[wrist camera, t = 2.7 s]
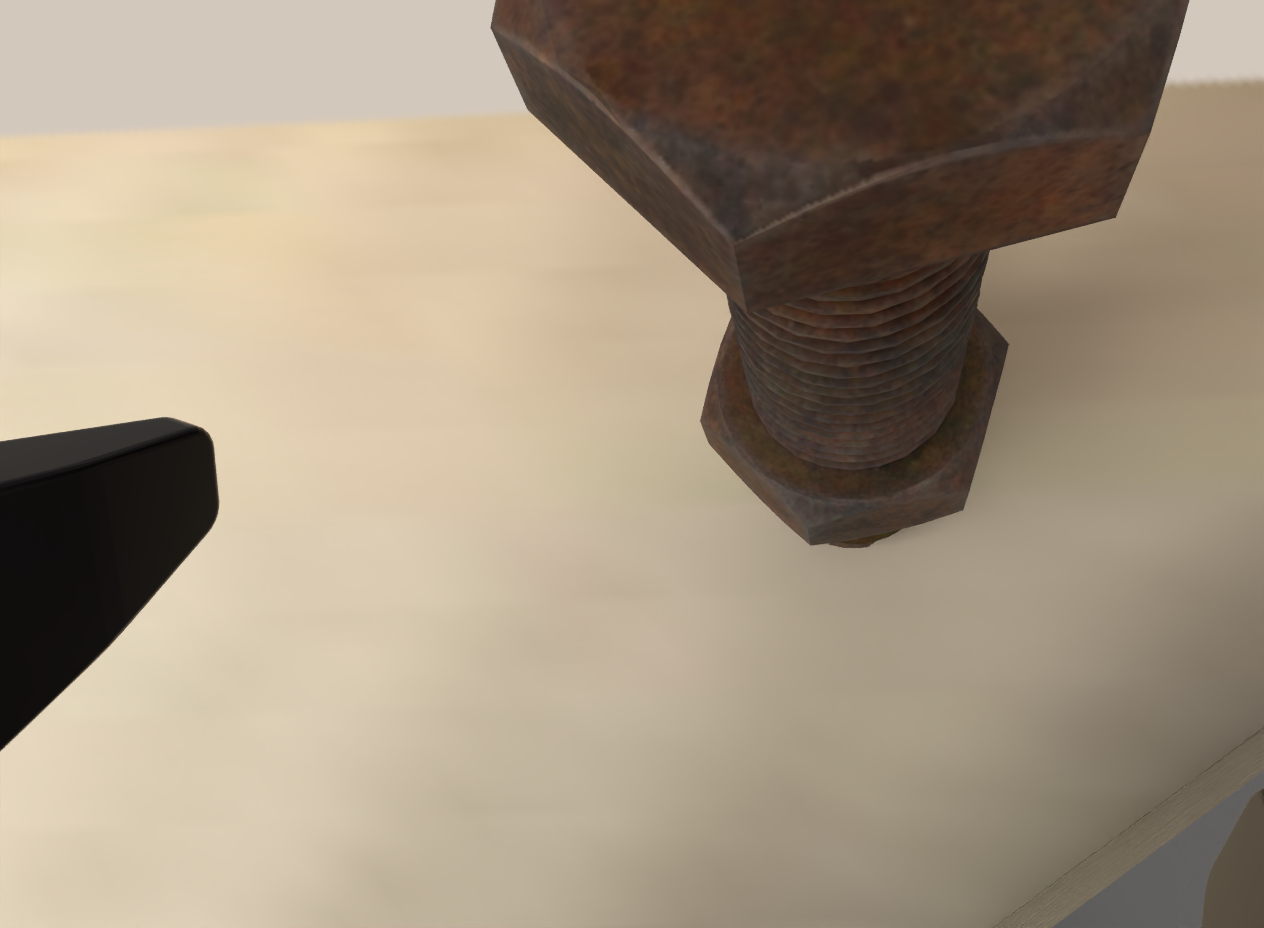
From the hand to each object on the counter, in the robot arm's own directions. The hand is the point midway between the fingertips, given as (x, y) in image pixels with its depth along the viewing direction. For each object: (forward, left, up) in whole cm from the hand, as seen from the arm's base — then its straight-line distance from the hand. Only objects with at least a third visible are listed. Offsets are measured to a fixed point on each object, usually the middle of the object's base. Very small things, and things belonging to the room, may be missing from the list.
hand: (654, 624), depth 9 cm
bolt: (+4, +3, -13) cm, 14 cm away
